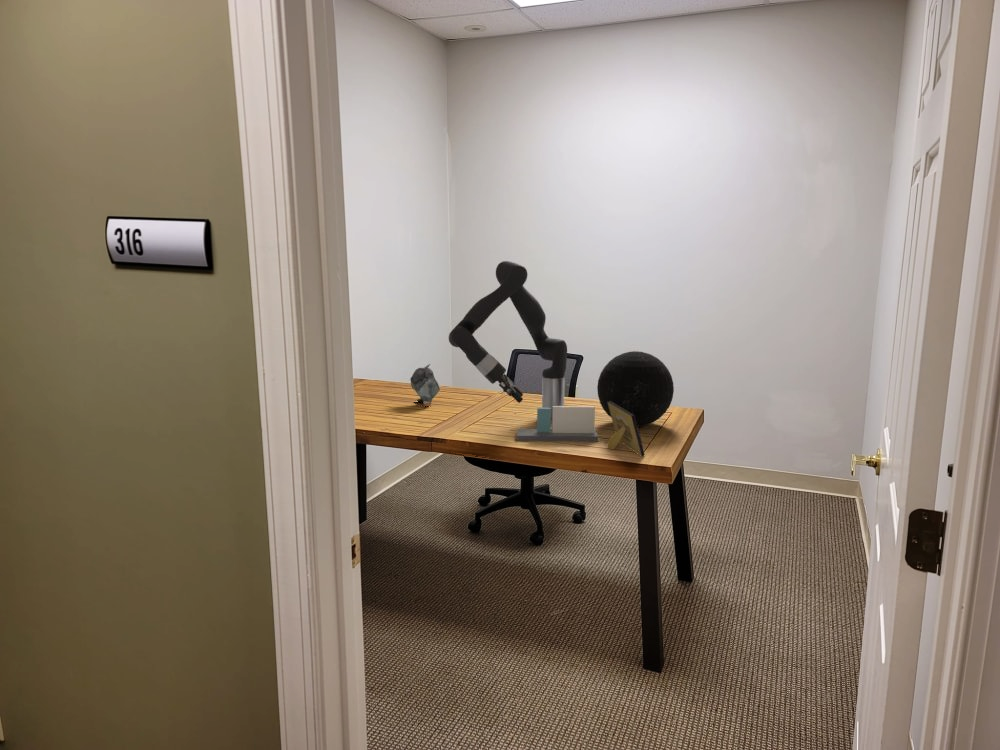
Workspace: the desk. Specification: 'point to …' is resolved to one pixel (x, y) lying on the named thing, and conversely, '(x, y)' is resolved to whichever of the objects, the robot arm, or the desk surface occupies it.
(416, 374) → the grey bird figurine
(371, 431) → the desk surface
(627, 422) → the picture frame
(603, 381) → the fuzzy black sphere
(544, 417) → the stub
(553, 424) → the sliding block rail
